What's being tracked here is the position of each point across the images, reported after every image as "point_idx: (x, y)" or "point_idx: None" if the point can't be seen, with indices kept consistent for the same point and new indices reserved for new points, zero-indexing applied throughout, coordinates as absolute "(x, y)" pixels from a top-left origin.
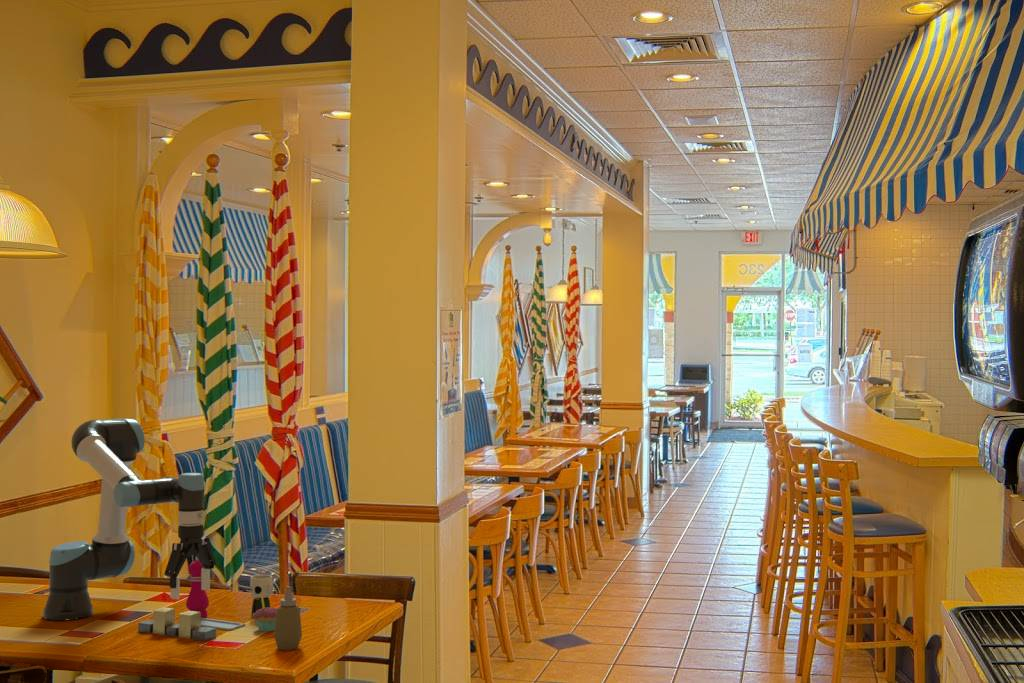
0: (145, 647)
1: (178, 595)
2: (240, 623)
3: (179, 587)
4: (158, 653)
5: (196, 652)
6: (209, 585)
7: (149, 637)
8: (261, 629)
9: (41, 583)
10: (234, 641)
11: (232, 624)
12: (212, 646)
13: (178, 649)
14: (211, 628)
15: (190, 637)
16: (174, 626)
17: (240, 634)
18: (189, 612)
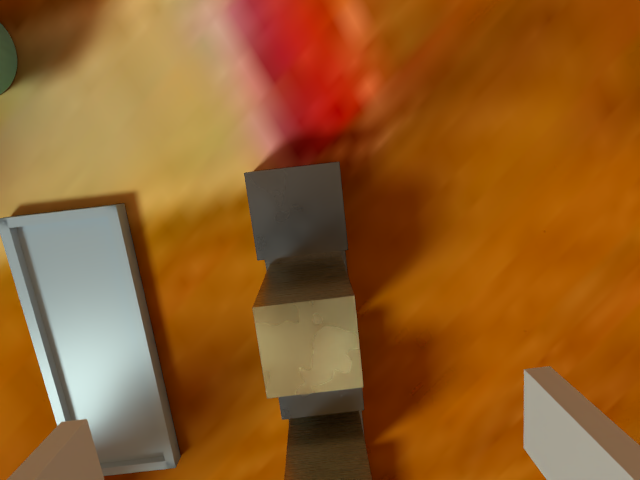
0: (530, 323)
1: (562, 390)
2: (10, 240)
3: (617, 461)
4: (582, 200)
5: (491, 54)
6: (32, 460)
7: (402, 428)
8: (9, 47)
9: None
10: (237, 42)
11: (38, 280)
12: (369, 70)
13: (490, 174)
14: (258, 196)
15: (341, 257)
16: None
17: (123, 122)
18: (302, 359)
